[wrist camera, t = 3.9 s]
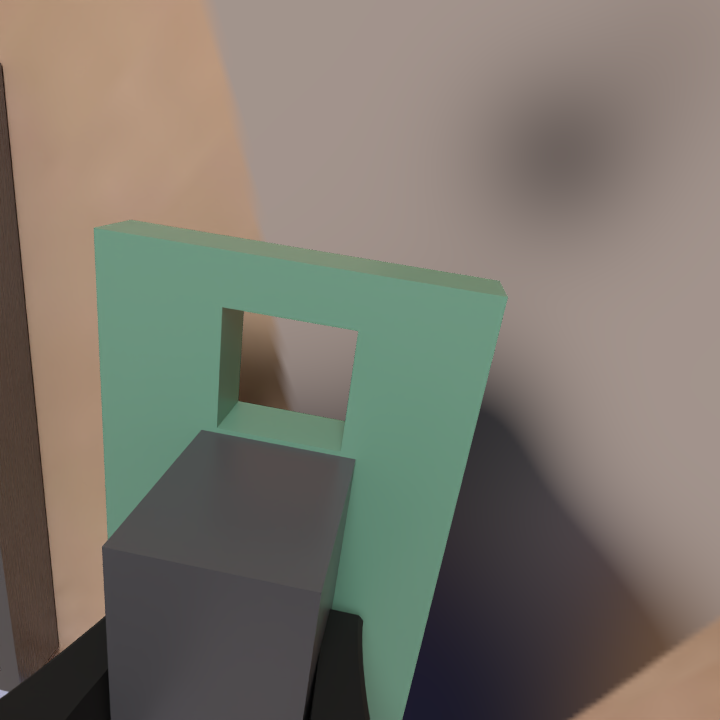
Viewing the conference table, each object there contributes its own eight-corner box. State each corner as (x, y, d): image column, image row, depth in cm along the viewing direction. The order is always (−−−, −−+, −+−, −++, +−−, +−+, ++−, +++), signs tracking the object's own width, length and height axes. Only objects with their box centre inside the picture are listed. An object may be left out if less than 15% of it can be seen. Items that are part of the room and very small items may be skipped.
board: (375, 793, 15) (353, 1033, 11) (141, 738, 16) (35, 948, 12) (499, 281, 10) (549, 375, 6) (130, 219, 10) (-81, 264, 6)
